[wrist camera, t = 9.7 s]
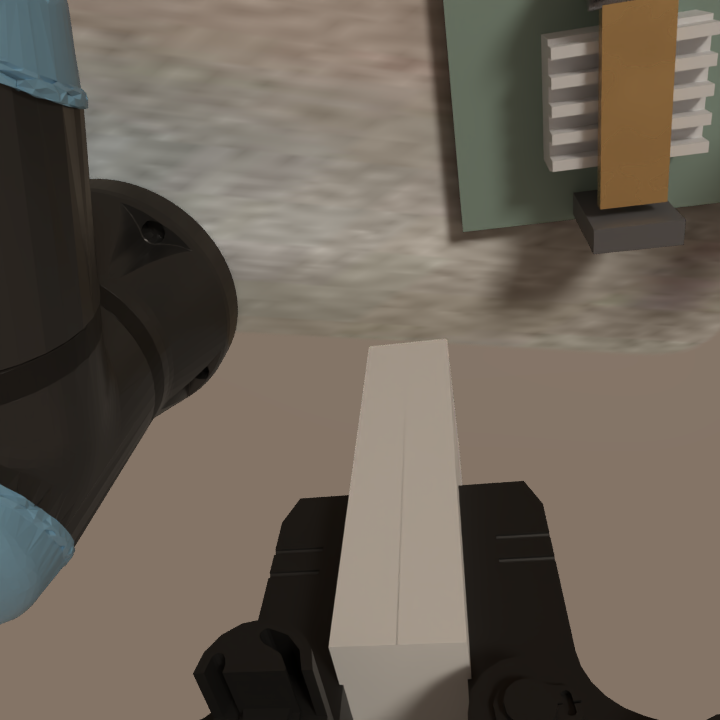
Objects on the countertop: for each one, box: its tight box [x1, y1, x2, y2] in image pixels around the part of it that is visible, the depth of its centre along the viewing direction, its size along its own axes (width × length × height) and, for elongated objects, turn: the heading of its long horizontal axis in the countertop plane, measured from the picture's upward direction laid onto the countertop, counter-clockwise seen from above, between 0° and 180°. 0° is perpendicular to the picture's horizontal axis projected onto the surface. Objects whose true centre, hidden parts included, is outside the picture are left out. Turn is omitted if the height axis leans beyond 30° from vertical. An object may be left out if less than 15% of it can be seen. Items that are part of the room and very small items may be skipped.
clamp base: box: [443, 0, 720, 254], centre depth 31 cm, size 16×14×7 cm
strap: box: [586, 0, 679, 210], centre depth 30 cm, size 4×10×1 cm, turn 9°
